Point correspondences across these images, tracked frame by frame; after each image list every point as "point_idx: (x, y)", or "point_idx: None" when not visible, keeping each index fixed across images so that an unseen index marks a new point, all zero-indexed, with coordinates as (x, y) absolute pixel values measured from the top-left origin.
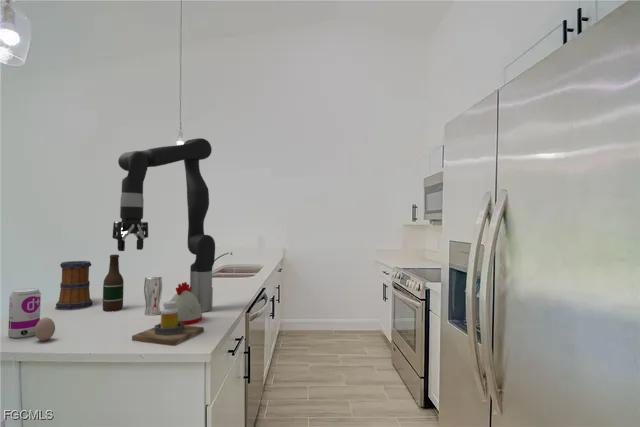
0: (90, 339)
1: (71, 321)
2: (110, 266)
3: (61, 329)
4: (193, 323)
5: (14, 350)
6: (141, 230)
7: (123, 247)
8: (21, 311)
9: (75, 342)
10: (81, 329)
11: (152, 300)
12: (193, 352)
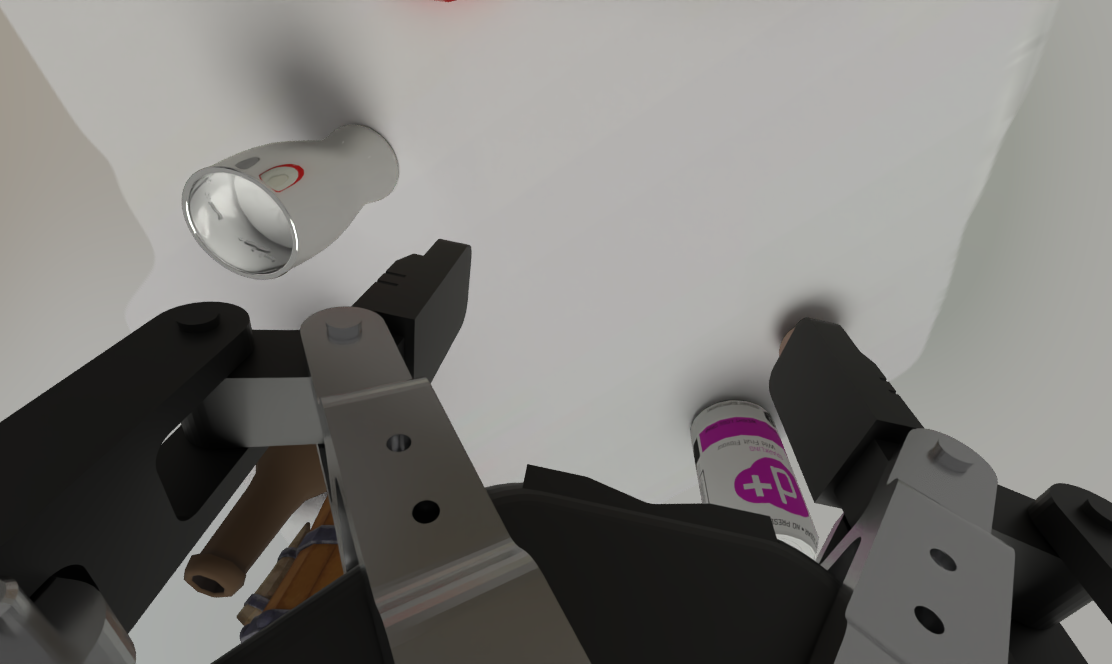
0: (806, 182)
1: (558, 397)
2: (279, 526)
3: (661, 367)
4: None
5: (911, 349)
6: (362, 471)
7: (850, 345)
8: (796, 482)
9: (844, 215)
10: (658, 305)
11: (353, 165)
12: None
